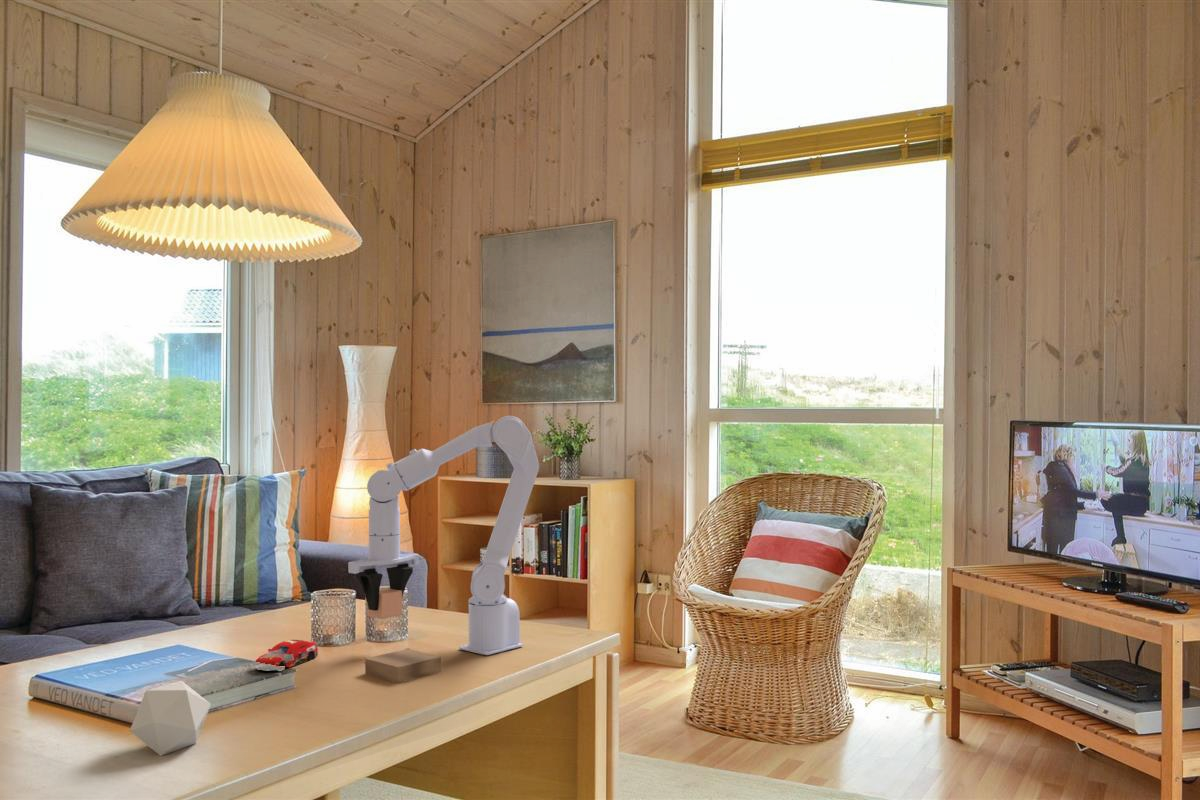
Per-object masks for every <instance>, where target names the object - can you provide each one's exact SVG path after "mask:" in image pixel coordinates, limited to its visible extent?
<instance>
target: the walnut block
mask: <svg viewBox="0 0 1200 800" xmlns="http://www.w3.org/2000/svg"><path fill="white" fill-rule="evenodd" d="M441 661H442V656H439V655H435V654H430V653H427V652H424V651H423V652H422V651H419V650H415V649H410V648H406V649H401V650H395V651H392V652H388V653H383V654H380V655H379V654H378V655H375V656H374V655H373V656H371V657H366V658H364V664H365V669H364V674H365V675H367V676H372V677H374V678H375V677H376V678H377V679H382V680H386V681H389V682H392V681H393V682H392V683H395V682H396V684H401V683H404V682H405V683H406V682H409V681H411V680H415V679H420V678H422V677H423V678H425V677H427V676H431V675H434V674H438V673H441V672H442V671H441V670H442V669H441V667H442V662H441Z"/></svg>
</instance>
